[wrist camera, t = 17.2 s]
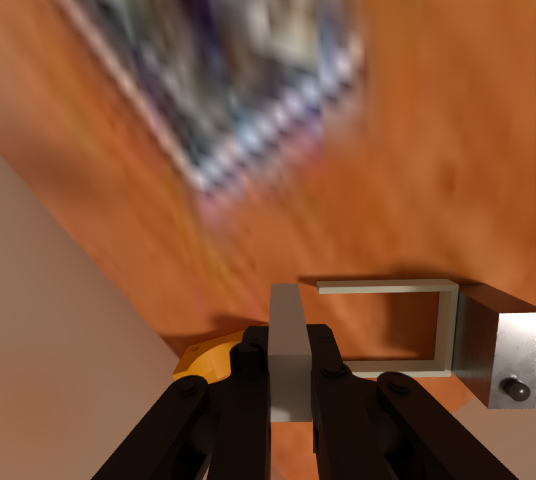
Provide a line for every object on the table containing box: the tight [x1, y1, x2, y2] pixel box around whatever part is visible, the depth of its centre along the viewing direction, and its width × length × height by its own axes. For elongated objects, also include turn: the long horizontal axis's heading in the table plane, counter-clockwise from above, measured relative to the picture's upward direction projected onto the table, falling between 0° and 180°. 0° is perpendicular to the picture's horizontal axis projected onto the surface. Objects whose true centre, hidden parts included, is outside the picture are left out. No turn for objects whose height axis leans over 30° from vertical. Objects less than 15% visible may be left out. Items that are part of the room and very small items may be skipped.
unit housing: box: [451, 284, 536, 409], centre depth 34 cm, size 11×5×10 cm, turn 2°
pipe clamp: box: [172, 323, 269, 383], centre depth 37 cm, size 12×4×6 cm, turn 108°
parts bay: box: [316, 279, 459, 378], centre depth 38 cm, size 13×17×2 cm
